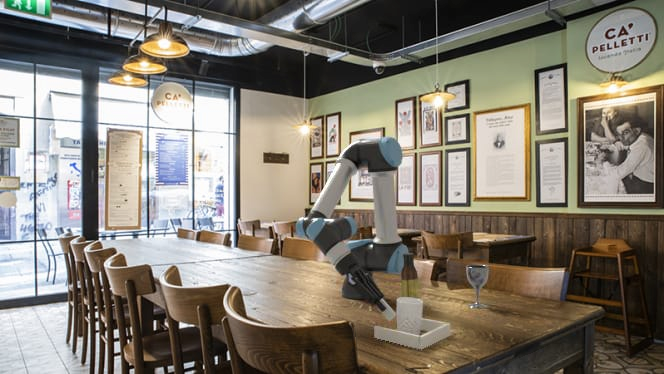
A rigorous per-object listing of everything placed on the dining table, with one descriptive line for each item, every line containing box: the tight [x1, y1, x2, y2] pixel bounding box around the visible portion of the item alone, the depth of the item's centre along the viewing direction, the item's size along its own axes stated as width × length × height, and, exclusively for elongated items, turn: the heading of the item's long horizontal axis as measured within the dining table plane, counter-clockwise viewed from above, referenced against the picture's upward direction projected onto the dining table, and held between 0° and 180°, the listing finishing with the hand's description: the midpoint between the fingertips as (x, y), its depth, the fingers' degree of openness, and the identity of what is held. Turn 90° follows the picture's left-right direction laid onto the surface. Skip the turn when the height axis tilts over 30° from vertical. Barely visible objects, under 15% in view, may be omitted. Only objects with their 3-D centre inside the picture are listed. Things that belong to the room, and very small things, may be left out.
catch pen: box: [373, 317, 451, 351], centre depth 132 cm, size 16×17×4 cm
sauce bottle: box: [400, 252, 420, 299], centre depth 168 cm, size 7×6×20 cm
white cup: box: [396, 296, 424, 336], centre depth 135 cm, size 8×8×10 cm
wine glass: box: [466, 264, 489, 309], centre depth 169 cm, size 8×8×15 cm
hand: (393, 318), depth 135 cm, fingers closed
